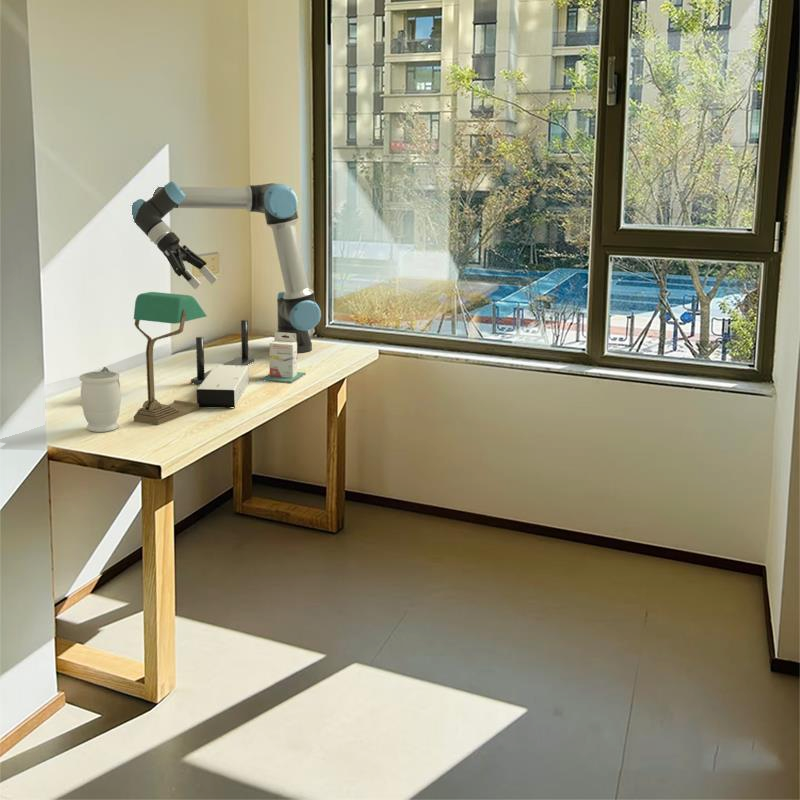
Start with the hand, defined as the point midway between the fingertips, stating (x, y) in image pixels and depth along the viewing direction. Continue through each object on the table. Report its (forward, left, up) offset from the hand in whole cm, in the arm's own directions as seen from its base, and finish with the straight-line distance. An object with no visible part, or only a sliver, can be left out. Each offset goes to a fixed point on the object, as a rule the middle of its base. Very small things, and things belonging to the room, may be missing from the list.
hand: (206, 284), depth 320 cm
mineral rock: (+47, -11, -30) cm, 57 cm away
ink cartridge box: (+3, +29, -30) cm, 42 cm away
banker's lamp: (+58, +15, -30) cm, 68 cm away
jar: (+77, +5, -30) cm, 83 cm away
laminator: (+32, +20, -31) cm, 48 cm away
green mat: (+3, +29, -30) cm, 42 cm away
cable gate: (+3, +7, -30) cm, 31 cm away
